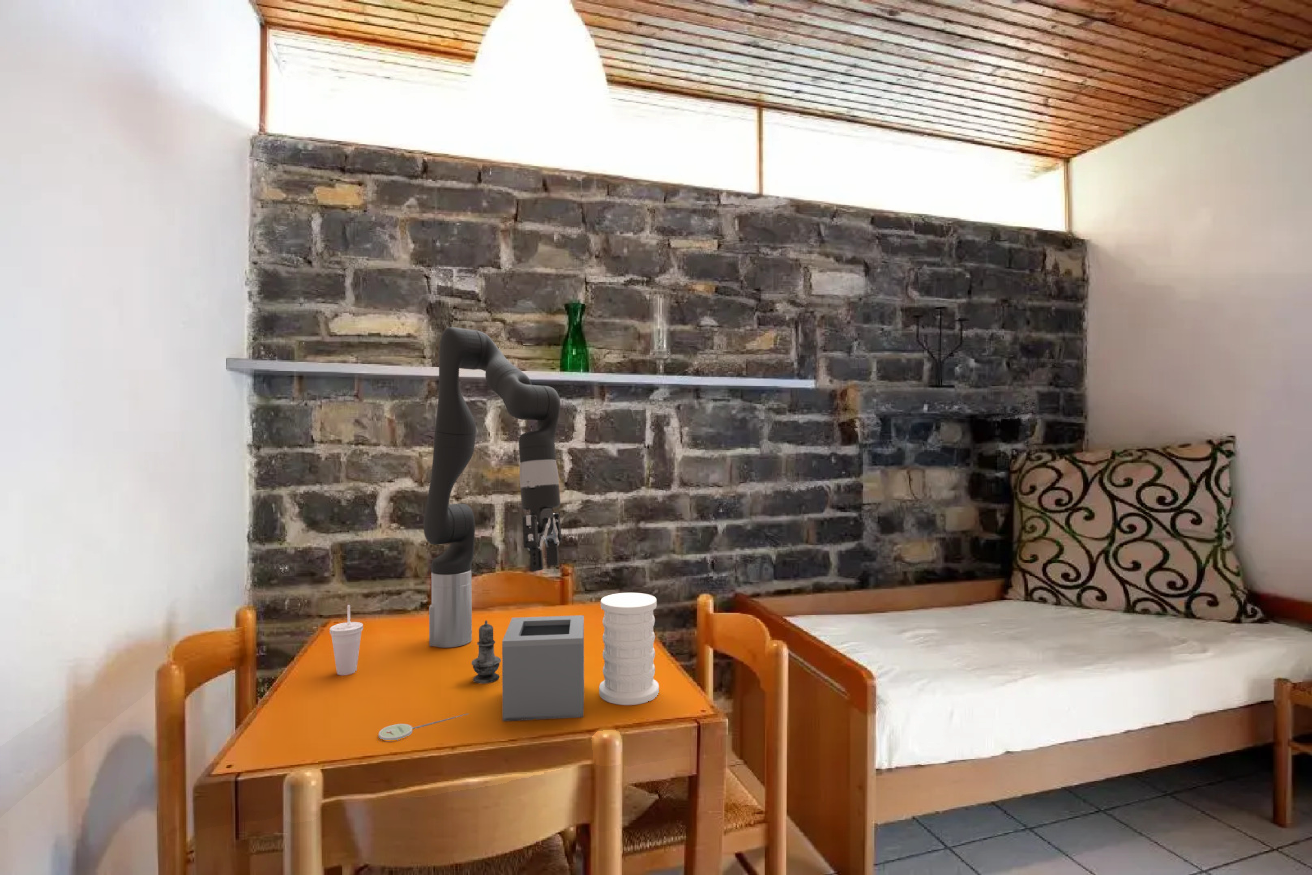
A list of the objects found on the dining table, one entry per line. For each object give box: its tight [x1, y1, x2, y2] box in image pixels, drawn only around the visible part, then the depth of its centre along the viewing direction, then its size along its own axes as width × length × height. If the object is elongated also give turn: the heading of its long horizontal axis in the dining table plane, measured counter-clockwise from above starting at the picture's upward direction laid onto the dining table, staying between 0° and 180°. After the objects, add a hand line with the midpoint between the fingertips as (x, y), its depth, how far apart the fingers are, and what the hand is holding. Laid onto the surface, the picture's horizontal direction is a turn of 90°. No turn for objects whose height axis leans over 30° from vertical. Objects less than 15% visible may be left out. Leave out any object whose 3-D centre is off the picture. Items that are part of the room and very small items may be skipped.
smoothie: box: [329, 604, 364, 676], centre depth 131 cm, size 6×6×14 cm
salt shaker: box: [471, 620, 502, 685], centre depth 128 cm, size 6×6×12 cm
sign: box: [378, 713, 469, 741], centre depth 107 cm, size 5×1×15 cm
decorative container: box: [598, 592, 660, 706], centre depth 121 cm, size 12×12×18 cm
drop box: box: [501, 614, 585, 722], centre depth 116 cm, size 14×14×14 cm
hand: (545, 567), depth 121 cm, fingers open, 8 cm apart
